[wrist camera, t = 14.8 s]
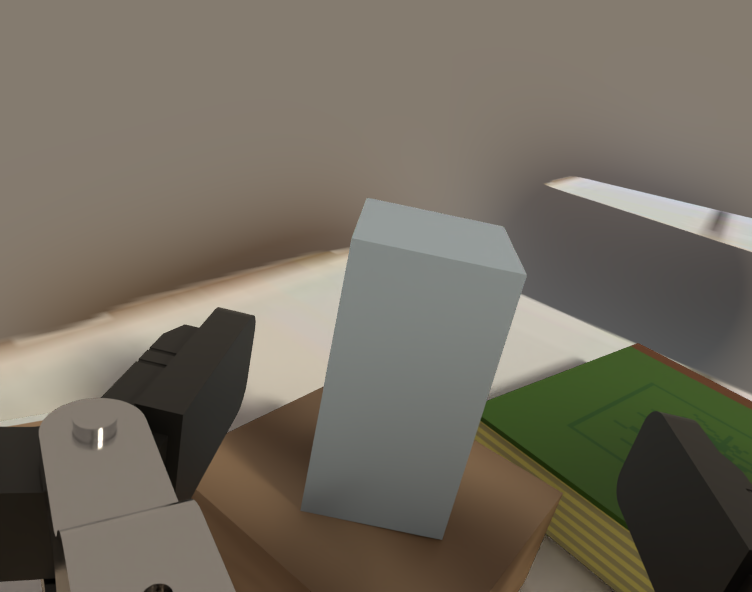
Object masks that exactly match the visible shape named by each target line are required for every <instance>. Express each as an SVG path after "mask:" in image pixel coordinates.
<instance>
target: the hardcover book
mask: <svg viewBox="0 0 752 592" xmlns="http://www.w3.org/2000/svg"><path fill="white" fill-rule="evenodd" d="M654 411H659V412H663V413H667V414H671V415H676V416H680V417H684V418H688V419H692V420H695V421H696V422H697V423H698V424H699V425H700V426H701V428H702V429H703V430H704V432H705V433H706V435H707V436H708V437H709V439H710V440H711V441H712V443H713V444H714V446H715V447H716V448H717V450H718V451H719V452H720V453H721V454H723V455H724V456H725V457H726V458H727V459H728V460H730V461H731V462H732V463H733V464H734V465H736V466H737V467H738V468H739V469H740V470H741V471H742V472H743V473H744V474H745V476H746V477H747V478H748V480H749V481H750V482H751V484H752V401H750V400H748V399H746V398H744V397H742V396H740V395H738V394H736V393H734V392H732V391H730V390H729V389H727V388H725V387H723V386H721V385H719V384H717V383H715V382H713V381H711V380H709V379H707V378H705V377H703V376H701V375H699V374H697V373H695V372H693V371H691V370H690V369H688V368H686V367H684V366H682V365H680V364H678V363H676V362H674V361H672V360H670V359H668V358H666V357H664V356H662V355H660V354H658V353H656V352H654V351H653V350H651V349H649V348H647V347H645V346H643V345H641V344H638V343H637V344H634V345H632V346H629V347H627V348H624V349H621V350H619V351H616V352H613V353H611V354H608V355H606V356H603V357H600V358H598V359H595V360H593V361H590V362H587V363H585V364H582V365H579V366H577V367H574V368H572V369H569V370H566V371H564V372H561V373H559V374H556V375H553V376H551V377H548V378H545V379H543V380H540V381H538V382H535V383H532V384H530V385H527V386H524V387H522V388H519V389H517V390H514V391H511V392H509V393H506V394H504V395H501V396H498V397H496V398H493V399H490V400H488V401H486V404H485V407H484V410H483V414H482V417H481V420H480V423H479V426H478V429H477V432H476V435H475V439H474V440H475V441H477V442H478V443H480V444H482V445H483V446H485V447H487V448H488V449H490V450H492V451H493V452H495V453H497V454H498V455H500V456H502V457H504V458H505V459H507V460H509V461H510V462H512V463H514V464H515V465H517V466H519V467H520V468H522V469H524V470H525V471H527V472H529V473H530V474H532V475H534V476H535V477H537V478H539V479H540V480H542V481H544V482H545V483H547V484H549V485H550V486H552V487H554V488H555V489H557V490H559V491H560V492H562V493H563V494H562V497H561V499H560V501H559V504H558V506H557V508H556V510H555V513H554V515H553V517H552V520H551V522H550V524H549V526H548V529H547V531H546V534H547V535H548V536H549V537H551V538H552V539H553V540H554V541H556V542H557V543H558V544H559V545H560V546H562V547H563V548H564V549H565V550H566V551H568V552H569V553H570V554H571V555H572V556H574V557H575V558H576V559H577V560H579V561H580V562H581V563H582V564H583V565H585V566H586V567H587V568H588V569H589V570H591V571H592V572H593V573H594V574H595V575H597V576H598V577H599V578H600V579H602V580H603V581H604V582H605V583H606V584H608V585H609V586H610V587H611V588H612V589H614V590H615V591H616V592H655V591H654V589H653V586H652V584H651V582H650V579H649V577H648V574H647V572H646V570H645V567H644V565H643V562H642V560H641V558H640V555H639V553H638V550H637V548H636V546H635V543H634V541H633V538H632V536H631V534H630V531H629V529H628V526H627V524H626V522H625V519H624V517H623V514H622V512H621V510H620V507H619V505H618V501H617V493H616V489H617V481H618V476H619V473H620V471H621V469H622V467H623V464H624V462H625V460H626V458H627V456H628V454H629V452H630V450H631V448H632V445H633V443H634V441H635V439H636V437H637V435H638V433H639V431H640V429H641V427H642V424H643V422H644V420H645V419H646V417H647V416H648V415H649V414H650V413H651V412H654Z"/></svg>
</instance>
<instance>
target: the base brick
mask: <svg viewBox="0 0 752 592" xmlns="http://www.w3.org/2000/svg"><path fill="white" fill-rule="evenodd" d="M323 388H324V387H322V388H320V389H318V390H315V391H313V392H311V393H309V394H307V395H305V396H303V397H301V398H299V399H297V400H295V401H293V402H290V403H288V404H286V405H284V406H282V407H280V408H278V409H276V410H274V411H272V412H270V413H268V414H265V415H263V416H261V417H259V418H257V419H255V420H253V421H251V422H249V423H247V424H245V425H243V426H240V427H238V428H236V429H234V430H232V431H230V432H228V433H227V434H226V435H225V437H224V439H223V441H222V443H221V445H220V446H219V448H218V450H217V452H216V454H215V456H214V457H213V459H212V461H211V463H210V465H209V466H208V468H207V470H206V472H205V474H204V476H203V477H202V479H201V481H200V483H199V485H198V487H197V488H196V490H195V492H194V494H193V496H192V498H191V499H193V500H195V501H196V502H197V504H198V505H199V507H200V509H201V511H202V513H203V516H204V518H205V520H206V523H207V525H208V527H209V530H210V532H211V535H212V537H213V539H214V542H215V544H216V546H217V549H218V551H219V553H220V556H221V558H222V560H223V563H224V565H225V568H226V570H227V572H228V575H229V577H230V579H231V582H232V584H233V586H234V589H235V591H236V592H518V591H519V589H520V588H521V586H522V585H523V583H524V582H525V579H526V577H527V575H528V572H529V570H530V568H531V565H532V563H533V561H534V559H535V556H536V554H537V552H538V549H539V547H540V545H541V543H542V540H543V538H544V536H545V533H546V531H547V529H548V526H549V524H550V522H551V520H552V517H553V515H554V513H555V510H556V508H557V506H558V504H559V501H560V499H561V497H562V494H563V493H562V492H560V491H559V490H557V489H555V488H554V487H552V486H550V485H549V484H547V483H545V482H544V481H542V480H540V479H539V478H537V477H535V476H534V475H532V474H530V473H529V472H527V471H525V470H524V469H522V468H520V467H519V466H517V465H515V464H514V463H512V462H510V461H509V460H507V459H505V458H504V457H502V456H500V455H498V454H497V453H495V452H493V451H492V450H490V449H488V448H487V447H485V446H483V445H482V444H480V443H478V442H477V441H475V440H474V442H473V445H472V448H471V451H470V454H469V457H468V461H467V464H466V467H465V470H464V473H463V476H462V479H461V482H460V486H459V489H458V492H457V495H456V498H455V501H454V504H453V507H452V511H451V514H450V517H449V520H448V523H447V526H446V529H445V532H444V536H443V539H442V540H440V539H435V538H430V537H425V536H420V535H415V534H411V533H406V532H401V531H396V530H391V529H386V528H382V527H377V526H372V525H367V524H362V523H357V522H353V521H348V520H343V519H338V518H333V517H328V516H324V515H319V514H314V513H309V512H304V511H300V510H301V505H302V499H303V494H304V489H305V483H306V478H307V473H308V467H309V462H310V457H311V452H312V446H313V441H314V436H315V430H316V425H317V420H318V414H319V409H320V404H321V399H322V393H323Z"/></svg>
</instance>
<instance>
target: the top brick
mask: <svg viewBox="0 0 752 592" xmlns="http://www.w3.org/2000/svg"><path fill="white" fill-rule="evenodd" d="M526 276H527V275H526V272H525V270H524V268H523V266H522V264H521V262H520V260H519V258H518V256H517V254H516V251H515V249H514V247H513V245H512V243H511V241H510V239H509V237H508V235H507V233H506V231H505V228H504V227H503V226H497V225H493V224H489V223H484V222H479V221H475V220H470V219H465V218H460V217H456V216H451V215H446V214H442V213H437V212H432V211H427V210H423V209H418V208H413V207H409V206H404V205H399V204H394V203H390V202H385V201H380V200H375V199H371V198H367V199H366V202H365V205H364V207H363V210H362V212H361V215H360V218H359V221H358V223H357V226H356V228H355V231H354V234H353V236H352V240H351V245H350V250H349V255H348V261H347V266H346V271H345V277H344V282H343V287H342V293H341V298H340V303H339V308H338V314H337V319H336V324H335V330H334V335H333V340H332V346H331V351H330V356H329V361H328V367H327V372H326V377H325V383H324V388H323V393H322V399H321V404H320V409H319V414H318V420H317V425H316V430H315V436H314V441H313V446H312V452H311V457H310V462H309V467H308V473H307V478H306V483H305V489H304V494H303V499H302V505H301V510H300V511H304V512H309V513H314V514H319V515H324V516H328V517H333V518H338V519H343V520H348V521H353V522H357V523H362V524H367V525H372V526H377V527H382V528H386V529H391V530H396V531H401V532H406V533H411V534H415V535H420V536H425V537H430V538H435V539H440V540H442V539H443V536H444V532H445V529H446V526H447V523H448V520H449V517H450V514H451V511H452V507H453V504H454V501H455V498H456V495H457V492H458V489H459V486H460V482H461V479H462V476H463V473H464V470H465V467H466V464H467V461H468V457H469V454H470V451H471V448H472V445H473V442H474V439H475V435H476V432H477V429H478V426H479V423H480V420H481V417H482V414H483V410H484V407H485V404H486V401H487V398H488V395H489V392H490V389H491V385H492V382H493V379H494V376H495V373H496V370H497V367H498V364H499V360H500V357H501V354H502V351H503V348H504V345H505V342H506V339H507V335H508V332H509V329H510V326H511V323H512V320H513V317H514V313H515V310H516V307H517V304H518V301H519V298H520V295H521V292H522V288H523V285H524V282H525V279H526Z"/></svg>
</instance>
